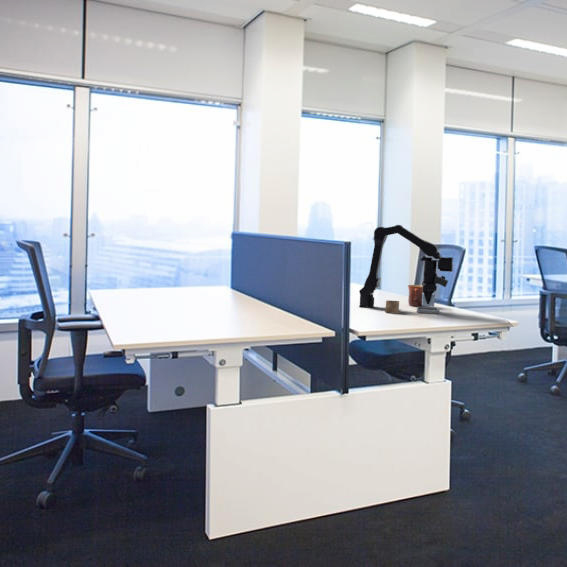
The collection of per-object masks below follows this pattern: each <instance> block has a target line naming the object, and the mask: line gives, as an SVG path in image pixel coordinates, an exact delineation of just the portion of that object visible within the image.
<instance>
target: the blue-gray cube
mask: <svg viewBox="0 0 567 567" xmlns="http://www.w3.org/2000/svg"><path fill="white" fill-rule="evenodd" d="M435 299H436V294H435V292H434V293H433V294H432V297H431V300H430V304H427V302H426V299H425V296H424V293H423V296H422V306H421V307H435V302H436V301H435Z"/></svg>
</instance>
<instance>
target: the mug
mask: <svg viewBox="0 0 567 567" xmlns="http://www.w3.org/2000/svg"><path fill="white" fill-rule="evenodd" d="M422 287H423V286H422V284H409V285H407V288H408V300H407V301H408V302H407V303H408V305H409V307H415V308H417V307H423V306H422V296H423V288H422Z"/></svg>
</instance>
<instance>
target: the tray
mask: <svg viewBox="0 0 567 567" xmlns="http://www.w3.org/2000/svg"><path fill="white" fill-rule="evenodd" d="M416 313H417V314H428V315H429V314H431V315H440V308H439V307H431V306H421V307H416Z"/></svg>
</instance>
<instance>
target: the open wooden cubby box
mask: <svg viewBox="0 0 567 567" xmlns="http://www.w3.org/2000/svg"><path fill="white" fill-rule="evenodd" d="M399 309H400V301H399V300H387V299H386V301H385V314H386V313H387V314H400V310H399Z"/></svg>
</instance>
